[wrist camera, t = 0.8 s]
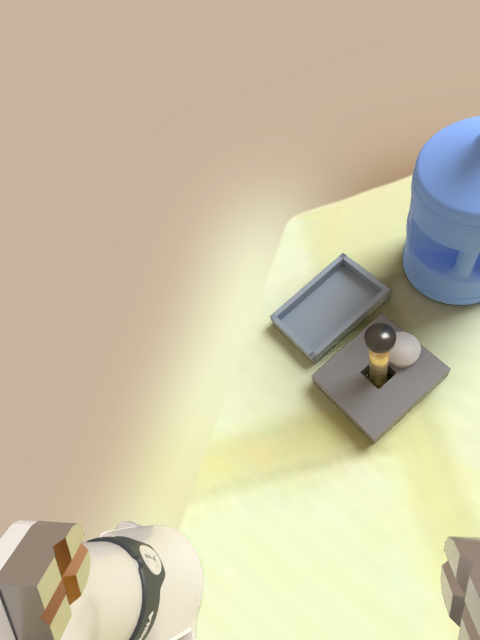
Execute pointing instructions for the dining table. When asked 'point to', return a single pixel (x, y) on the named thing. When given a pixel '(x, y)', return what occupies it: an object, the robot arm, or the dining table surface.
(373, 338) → the lock pin
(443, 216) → the water jug
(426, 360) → the block
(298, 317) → the tray
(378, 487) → the dining table surface
